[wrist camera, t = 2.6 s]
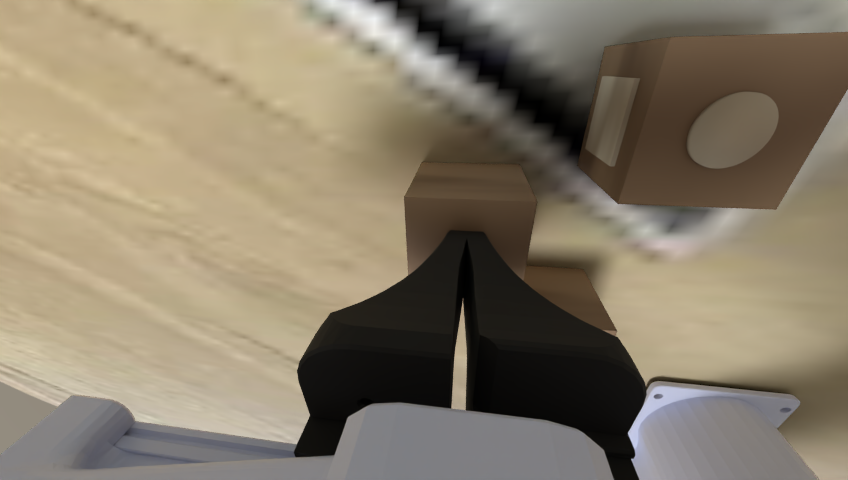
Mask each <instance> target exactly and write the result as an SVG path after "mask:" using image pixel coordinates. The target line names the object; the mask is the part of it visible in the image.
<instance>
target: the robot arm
mask: <svg viewBox="0 0 848 480" xmlns="http://www.w3.org/2000/svg"><path fill="white" fill-rule="evenodd" d="M462 302H463V304H464V317H465V331H466V344H467V382H466V410H458V409H451V403H452V385H453V368H454V354H455V346H456V339H457V333H458V327H459V321H460V314H461V308H462ZM297 373H298V380H299V384H300V387H301V389H302V392H303V395H304V398H305V401H306V404H307V407H308V410H309V413H310V417H309V420H308V422H307V424H306V426H305V428H304V430H303V433H302V435H301V437H300V439H299V441H298V443H297V444H290V443H283V442H277V441H270V440H263V439H256V438H249V437H242V436H235V435H228V434H221V433H214V432H207V431H200V430H193V429H186V428H180V427H173V426H166V425H159V424H152V423H145V422H138V421H135V418H134V416H133V415H132V413H131V412H130V411H129V409H128V408H127V407H125V406H124V405H123V404H121V403H119V402H117V401H114V400H111V399H105V398H97V397H90V396H82V395H73V396H70V397H69V398H68V399H67V400H66V401H64V402H63V403H62V404H61V405H59V406H58V407H57V408H56V409H55V410H53V411H52V412H51V413H50V414H49V415H47V416H46V417H45V418H44V419H43V420H41V421H40V422H39V423H38V424H37V425H35V426H34V427H33V428H32V429H30V431H28V432H27V433H26V434H24V435H23V436H22V437H21V438H20V439H18V440H17V441H16V442H15V443H14V444H12V445H11V446H10V447H9V448H7V449H6V450H5V451H4V452H3V453H1V454H0V480H819V478H818V477H817V476H816V475H815V474H814V472H813V471H812V470H811V469H810V468H809V467H808V465H807V464H806V463H805V462H804V461H803V459H802V458H801V457H800V456H799V455H798V453H797V452H796V451H795V450H794V449H793V447H792V446H791V445H790V444H789V443H788V441H787V440H786V439H785V438H784V437H783V435H782V434H781V433H780V432H779V431H778V429H777V428H778V427H779V426H780V425H781V424H782V423H783V422H784V421H785V420H786V419H787V418H788V417H789V416H790V415H791V414H792V413H793V412H794V411H795V410H796V409H797V408H798V407H799V405H800V401H799V400H798V399H797V398H796V397H795V396H794V395H791V394H783V393H773V392H763V391H753V390H743V389H734V388H724V387H714V386H704V385H694V384H684V383H675V382H665V381H656V382H653V383H651V384H650V386H649V387H648V389H647V391H646V386H645V382H644V380H643V378H642V377H641V375H640V373H639V371H638V369H637V367H636V365H635V364H634V362H633V360H632V358H631V357H630V355H629V353H628V352H627V350H626V349H625V347H624V346H623V344H622V343H621V341H620V340H619V338H618V337H616V336H614V335H612V334H610V333H607V332H605V331H603V330H601V329H599V328H597V327H595V326H593V325H590V324H588V323H586V322H584V321H582V320H580V319H579V318H577V317H575V316H573V315H572V314H570V313H568V312H566V311H565V310H563V309H561V308H560V307H558V306H556V305H555V304H553V303H552V302H550V301H549V300H548V299H546V298H545V297H543V296H542V295H540V294H539V293H538V292H536V291H535V290H534V289H532V288H531V287H530V286H529V285H528V284H527V283H525V282H524V281H523V280H522V279H521V278H520V277H519V276H518V275H517V274H515V272H514V271H513V270H512V269H511V268H510V267H509V266H508V265H507V264H506V262H505V261H504V260H503V259H502V257H501V256H500V255H499V254H498V252H497V251H496V249H495V248H494V247H493V245H492V244H491V242H490V241H489V239H488V237H487V235H486V234H485V233H484V232H480V231H459V230H450V231H449V232H447V234H446V236H445V237H444V239H443V240H442V242H441V243H440V244H439V246H438V247H437V248H436V249H435V250H434V251H433V253H432V254H431V255H430V256H429V257H428V258H427V259H426V260H425V261H424V262H423V263H422V264H421V265H420V266H419V267H418V268H417V269H416V270H414V271H413V272H412V273H411V274H410V275H408V276H407V277H406V278H404V279H403V280H401V281H400V282H398V283H397V284H395V285H393V286H392V287H390V288H389V289H387V290H385V291H383V292H381V293H379V294H377V295H375V296H373V297H371V298H369V299H367V300H365V301H362V302H360V303H357V304H355V305H352V306H349V307H347V308H344V309H341V310H338V311H335V312H332V313H330V315H329V316H328V318H327V319H326V320H325V321H324V323H323V324H322V325H321V327H320V328H319V330H318V331H317V333H316V334H315V336H314V338H313V340H312V341H311V343H310V345H309V346H308V348H307V350H306V352H305V353H304V355H303V357H302V358H301V360H300V363H299V366H298V370H297Z"/></svg>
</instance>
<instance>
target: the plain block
mask: <svg viewBox="0 0 848 480" xmlns="http://www.w3.org/2000/svg"><path fill="white" fill-rule="evenodd" d="M404 204H405V222H406V241H407V260H408V275H410V274H411V273H412V272H413V271H414V270H416V269H417V268H418V267H419V266H420V265H421V264H422V263H423V262H424V261H425V260H426V259H427V258H428V257H429V256H430V255H431V254H432V253H433V251H434V250H435V249H436V248H437V247H438V246H439V244H440V243H441V242H442V240H443V239H444V237H445V236H446V234H447V232H449V231H450V230H459V231H480V232H484V233H485V234H486V235H487V237H488V239H489V241H490V242H491V244H492V245H493V247H494V248H495V249H496V251H497V252H498V254H499V255H500V256H501V257H502V259H503V260H504V261H505V262H506V264H507V265H508V266H509V267H510V268H511V269H512V270H513V271H514V272H515V274H517V275H518V276H519V277H520V278H521V279H522V280H524V274H525V269H526V263H527V257H528V251H529V246H530V240H531V234H532V229H533V223H534V217H535V212H536V206H537V200H536V198H535V196H534V194H533V192H532V190H531V187H530V185H529V183H528V181H527V179H526V177H525V175H524V173H523V171H522V168H521V166H520V164H479V163H427V162H422V164H421V165H420V167H419V169H418V171H417V173H416V175H415V177H414V179H413V181H412V183H411V185H410V187H409V189H408V191H407V193H406V195H405V196H404Z"/></svg>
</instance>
